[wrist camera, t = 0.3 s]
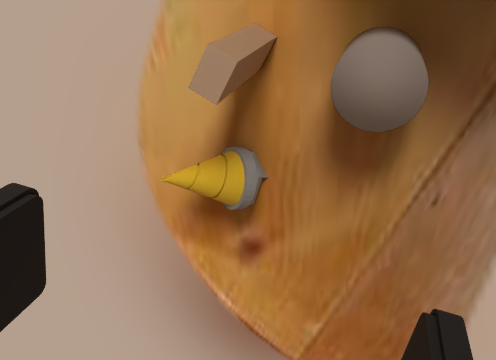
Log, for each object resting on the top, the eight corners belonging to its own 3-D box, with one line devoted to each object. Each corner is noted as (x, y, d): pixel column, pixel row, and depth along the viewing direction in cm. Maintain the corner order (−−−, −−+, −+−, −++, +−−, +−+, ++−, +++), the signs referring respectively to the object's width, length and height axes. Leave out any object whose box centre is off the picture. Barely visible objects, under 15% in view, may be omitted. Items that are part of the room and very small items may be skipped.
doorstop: (369, 10, 33) (364, 19, 28) (440, 53, 33) (449, 71, 28) (325, 81, 36) (313, 101, 31) (390, 121, 36) (390, 148, 31)
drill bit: (252, 207, 43) (150, 212, 38) (251, 150, 43) (149, 147, 38) (286, 208, 39) (174, 214, 33) (284, 145, 39) (172, 141, 33)
